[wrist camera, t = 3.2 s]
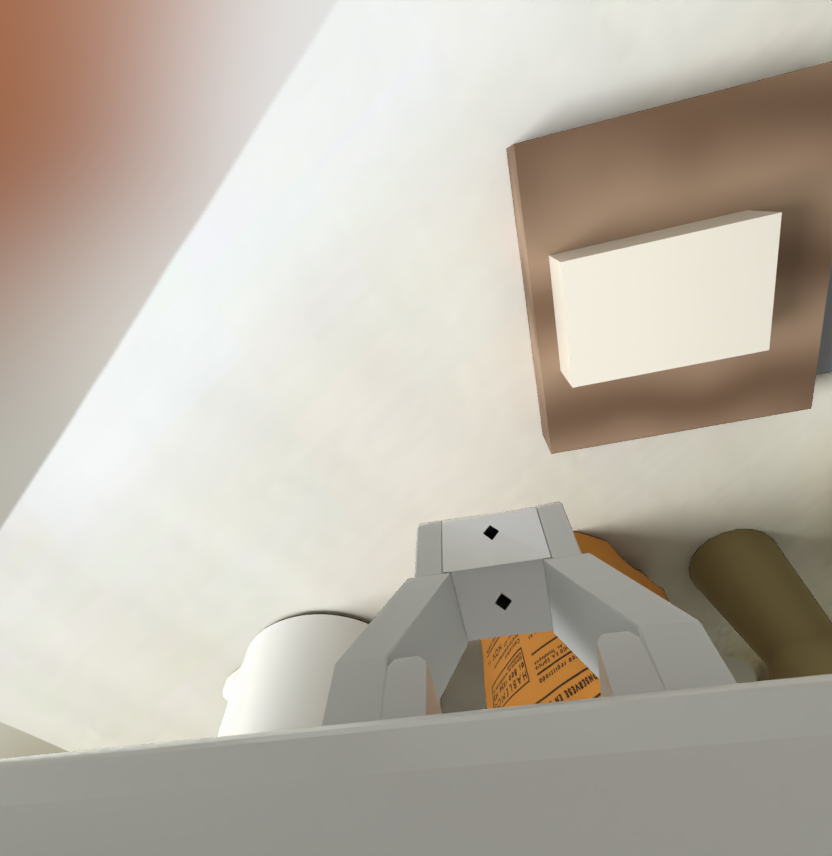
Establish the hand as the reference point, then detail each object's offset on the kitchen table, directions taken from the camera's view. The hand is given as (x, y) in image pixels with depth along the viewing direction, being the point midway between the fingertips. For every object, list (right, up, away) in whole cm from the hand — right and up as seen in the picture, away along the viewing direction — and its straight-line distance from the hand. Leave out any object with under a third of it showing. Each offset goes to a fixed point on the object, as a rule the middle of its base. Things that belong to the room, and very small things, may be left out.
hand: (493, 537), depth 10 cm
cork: (+21, -7, +24) cm, 33 cm away
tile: (+10, +9, +14) cm, 19 cm away
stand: (+11, +10, +16) cm, 22 cm away
